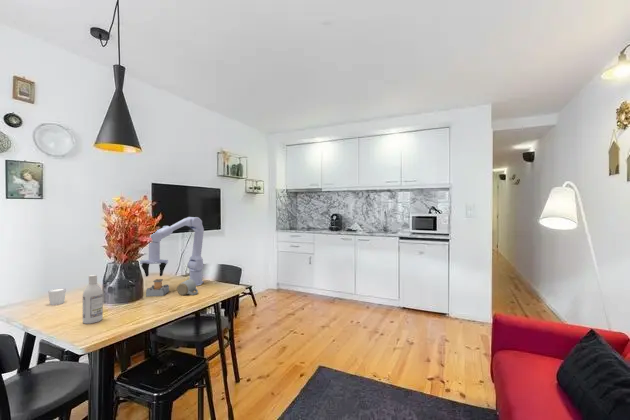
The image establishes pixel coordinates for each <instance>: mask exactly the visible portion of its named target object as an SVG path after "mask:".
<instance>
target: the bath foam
mask: <svg viewBox="0 0 630 420" xmlns="http://www.w3.org/2000/svg"><path fill="white" fill-rule="evenodd" d="M103 292H104V291H103V289H102V287H101V286H100V285H99V284H98V275H97V274H90V275H88V284H87V285H86V286H85V288H84V290H83V293H82V323H83V324H85V325H87V324H88V325H89V324H94V323H98V322H100V321H102V320H103V315H104V314H103V313H104V311H103V308H104V307H103V304H104V303H103V302H104V301H103V300H104V299H103V297H104V295H103V294H104V293H103Z"/></svg>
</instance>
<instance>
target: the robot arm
mask: <svg viewBox="0 0 630 420" xmlns="http://www.w3.org/2000/svg"><path fill="white" fill-rule="evenodd" d="M183 227H188V228H190V229H191V230H192V231H194V235H193V244H192V253H191V256H190V257H189V260H188V262H187V268H188V269H189V279H192V280H193V281H194V282H195V283H196V286H201V285H203V283H204V282H205V281H204V280H203V268H204V260H203V257H202V249H203V241H204V240H203V239H204V232H205V228H204V226H203V220H202V219H201V218H200V217H198V216H195V217H194V216H187V217H184V218H183V219H181V220H179V221H177V222H175V223H172V225H170V226H169V225H163V226H162V228H159V229H156V230H157V231H156V232H155V231H154V232H155V233H153V234H152V235H151V238H152V240H153V243H149V242H148V259H143V260H142V259H141V260H139V264H140V265H141V267H142V270H143V271H144V275H145V277H146V278H147V277H149V276H150V275H149V273H150V272H149V270H150V269H149V268H150V265H153V264H158V267H159V277H162V276H163V275H164V270H165V268H166V267H167V265H168V263H169V260H168V259H161V255H160V254H161V253H160V252H161V241H162V240H163V239H164V238H167V237H168V236H170V235H172V234H173V232H174V231H176V230H178V229H181V228H183Z"/></svg>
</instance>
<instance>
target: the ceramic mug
mask: <svg viewBox="0 0 630 420" xmlns="http://www.w3.org/2000/svg"><path fill="white" fill-rule="evenodd" d="M176 290H177V293H178V294H179V295H181V296H186V295H191V296H195V295H197V294H198V289H197V285H196V283H195V282H194V281H193V280H192V279H190V278H188V279H186V280H184V281H182V282H180V283H179V284H178V285H177V288H176Z"/></svg>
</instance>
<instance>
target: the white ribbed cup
mask: <svg viewBox="0 0 630 420" xmlns="http://www.w3.org/2000/svg"><path fill="white" fill-rule="evenodd" d="M66 291H67V290H66V288H64V287H63V288H53V289H50V290H48V300H49V301H48V302H49V306H57V305H62V304H65V301H66V300H65V299H66Z"/></svg>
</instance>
